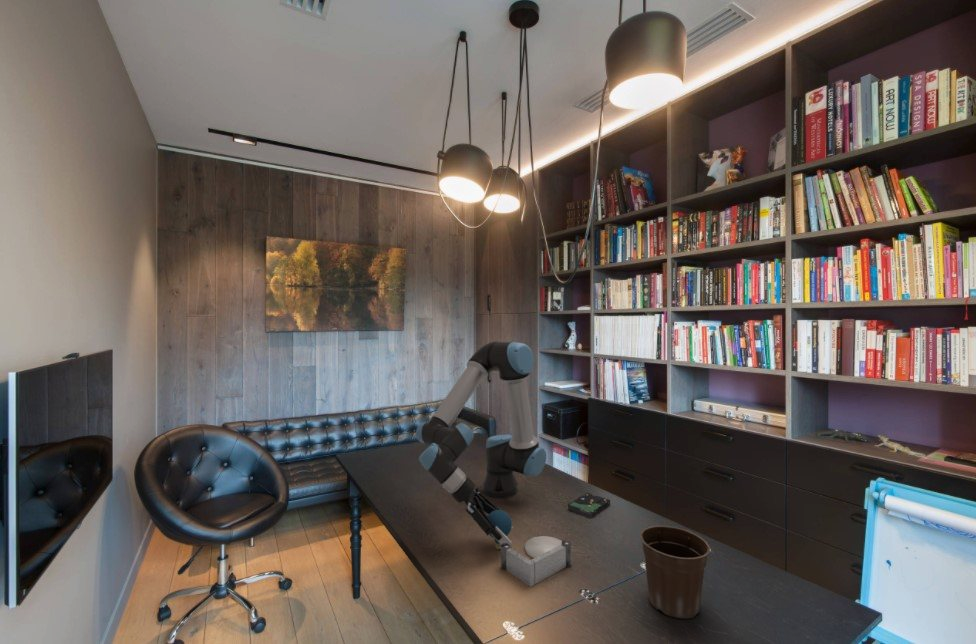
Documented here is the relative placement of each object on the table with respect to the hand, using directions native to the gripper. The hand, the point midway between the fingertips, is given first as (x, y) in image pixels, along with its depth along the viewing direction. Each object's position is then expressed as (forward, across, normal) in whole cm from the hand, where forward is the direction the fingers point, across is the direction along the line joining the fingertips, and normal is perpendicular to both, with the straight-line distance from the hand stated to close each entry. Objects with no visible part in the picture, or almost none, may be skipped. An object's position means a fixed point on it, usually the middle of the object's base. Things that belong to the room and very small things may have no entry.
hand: (509, 537), depth 134 cm
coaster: (+11, -1, +6) cm, 12 cm away
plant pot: (+33, +21, +28) cm, 48 cm away
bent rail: (+8, +8, +3) cm, 12 cm away
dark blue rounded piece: (0, 0, -5) cm, 5 cm away
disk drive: (+24, -33, +18) cm, 44 cm away
